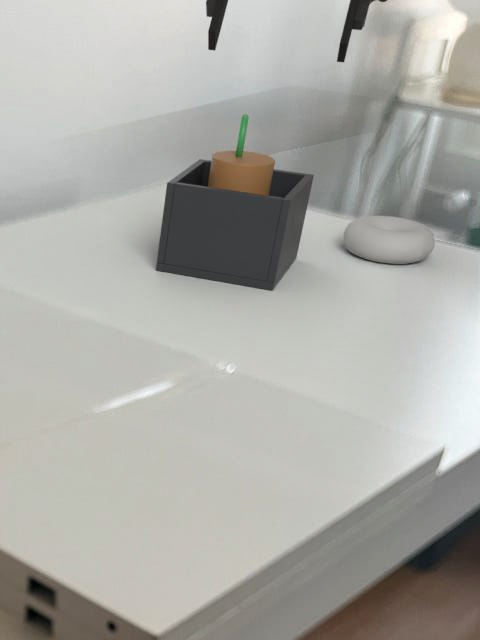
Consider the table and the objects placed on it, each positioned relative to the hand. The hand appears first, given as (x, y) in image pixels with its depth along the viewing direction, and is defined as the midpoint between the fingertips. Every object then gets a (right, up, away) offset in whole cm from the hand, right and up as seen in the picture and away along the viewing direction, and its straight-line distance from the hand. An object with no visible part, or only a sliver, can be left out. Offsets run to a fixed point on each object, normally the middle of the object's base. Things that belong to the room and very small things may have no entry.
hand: (275, 47), depth 108 cm
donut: (+15, -18, +10) cm, 26 cm away
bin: (-4, -21, +4) cm, 22 cm away
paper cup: (-4, -21, +4) cm, 22 cm away
